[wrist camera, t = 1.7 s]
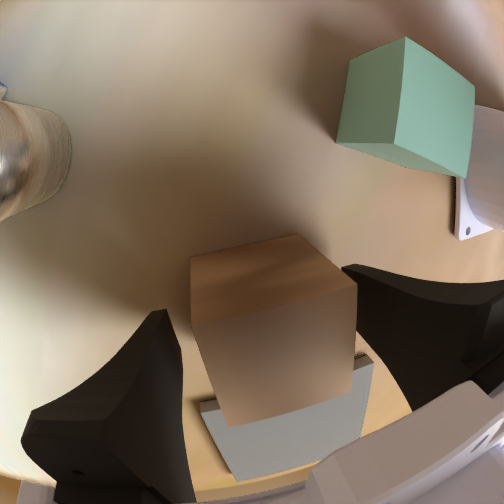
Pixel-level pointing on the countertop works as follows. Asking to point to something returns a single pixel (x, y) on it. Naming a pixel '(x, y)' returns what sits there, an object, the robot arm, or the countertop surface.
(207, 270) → the walnut block
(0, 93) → the medicine box
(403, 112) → the teal block
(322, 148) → the countertop surface
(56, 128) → the grey tin
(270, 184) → the countertop surface
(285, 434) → the slate pad
